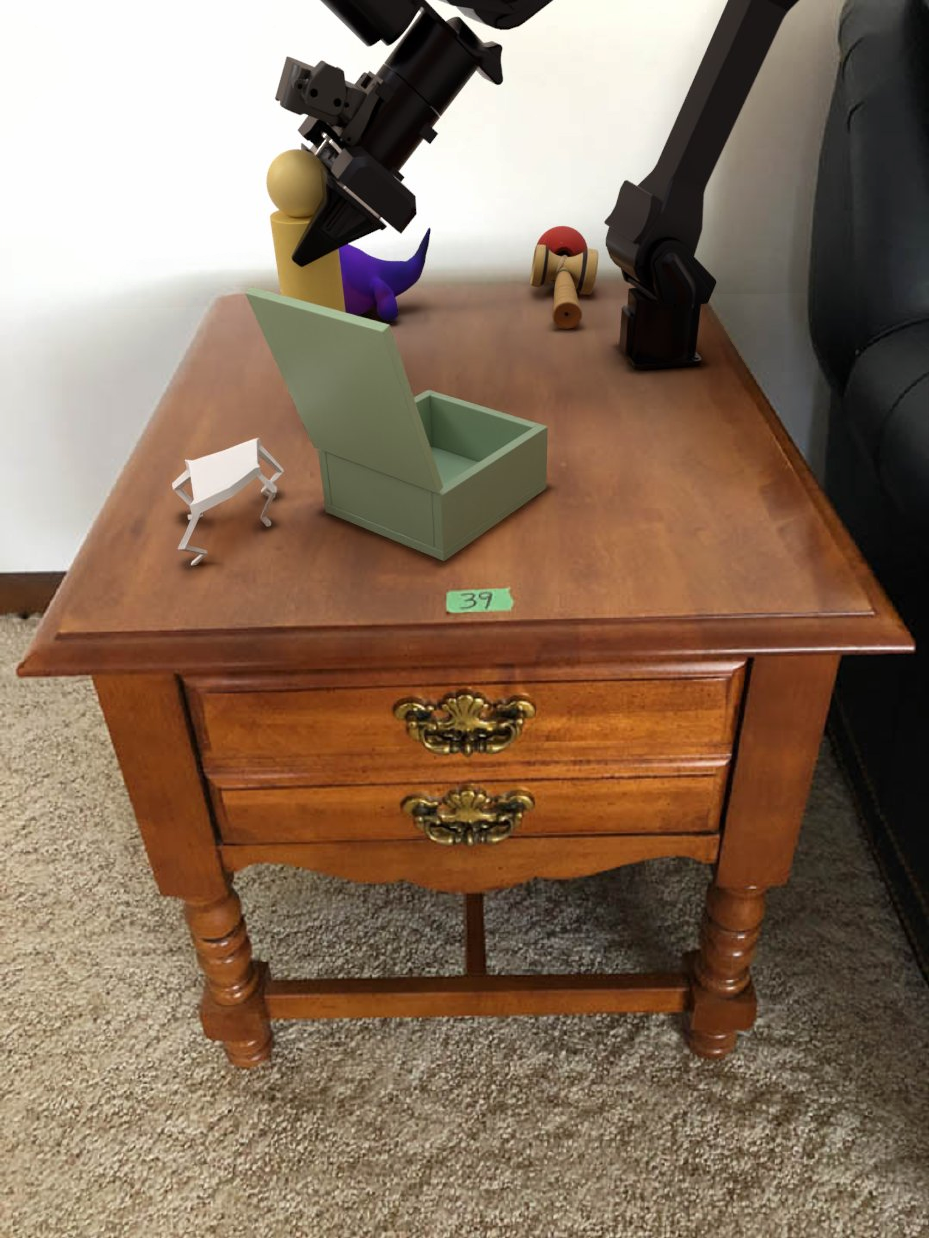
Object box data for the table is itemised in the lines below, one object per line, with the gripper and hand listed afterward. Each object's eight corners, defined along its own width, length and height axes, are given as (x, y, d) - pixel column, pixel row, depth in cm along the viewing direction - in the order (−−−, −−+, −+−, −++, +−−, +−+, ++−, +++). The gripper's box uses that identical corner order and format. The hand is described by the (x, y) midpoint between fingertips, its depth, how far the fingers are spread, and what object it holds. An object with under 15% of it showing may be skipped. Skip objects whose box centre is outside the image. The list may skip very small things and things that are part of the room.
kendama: (611, 339, 107) (598, 260, 120) (603, 283, 102) (591, 207, 115) (537, 353, 108) (532, 273, 121) (527, 298, 104) (523, 221, 116)
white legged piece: (186, 492, 81) (174, 435, 78) (292, 490, 81) (284, 433, 78) (147, 579, 71) (131, 518, 68) (267, 577, 71) (256, 516, 68)
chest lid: (251, 286, 65) (244, 293, 64) (389, 324, 59) (382, 331, 58) (319, 441, 75) (313, 447, 74) (443, 487, 69) (437, 493, 68)
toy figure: (334, 313, 91) (314, 139, 83) (355, 332, 87) (337, 152, 79) (278, 325, 89) (252, 148, 81) (297, 344, 86) (272, 161, 77)
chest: (431, 448, 86) (428, 389, 83) (546, 488, 80) (548, 426, 77) (325, 512, 78) (317, 449, 75) (444, 561, 72) (441, 495, 69)
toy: (419, 305, 116) (284, 302, 113) (424, 216, 111) (282, 211, 108) (431, 333, 109) (288, 331, 106) (437, 240, 104) (287, 235, 101)
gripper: (309, -1, 82) (196, 161, 87) (358, 28, 68) (219, 220, 72) (411, 98, 89) (301, 244, 93) (475, 143, 74) (341, 314, 79)
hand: (290, 253), depth 84 cm, fingers closed on toy figure, 5 cm apart
